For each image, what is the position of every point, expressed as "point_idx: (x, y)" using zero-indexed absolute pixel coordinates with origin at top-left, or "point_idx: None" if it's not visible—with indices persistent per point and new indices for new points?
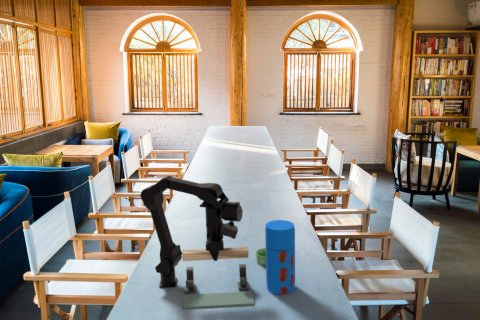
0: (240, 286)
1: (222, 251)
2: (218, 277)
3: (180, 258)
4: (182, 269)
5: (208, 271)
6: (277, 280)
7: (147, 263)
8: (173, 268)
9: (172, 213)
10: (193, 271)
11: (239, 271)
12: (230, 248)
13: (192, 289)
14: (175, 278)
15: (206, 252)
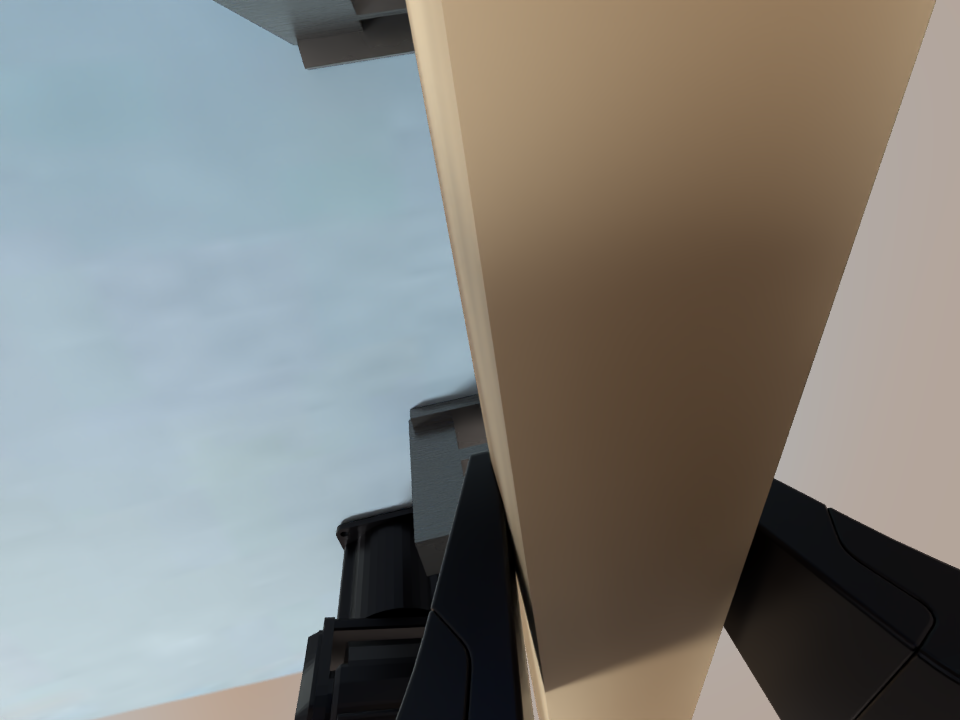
0: (400, 21)
1: (772, 460)
2: (226, 293)
3: (366, 674)
4: (194, 541)
5: (146, 392)
6: None
7: (195, 679)
8: (389, 614)
9: None
10: (417, 506)
11: (308, 9)
12: (598, 241)
13: (482, 419)
14: (385, 540)
15: (702, 674)
